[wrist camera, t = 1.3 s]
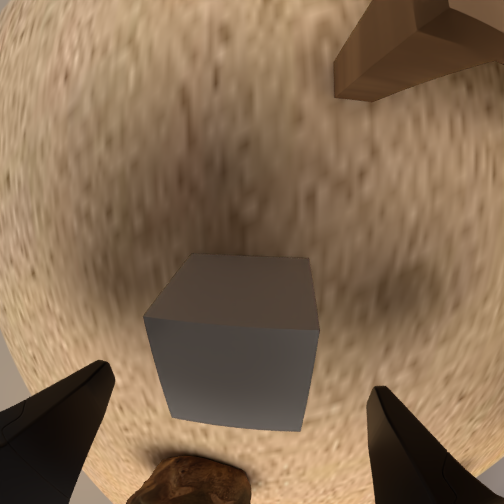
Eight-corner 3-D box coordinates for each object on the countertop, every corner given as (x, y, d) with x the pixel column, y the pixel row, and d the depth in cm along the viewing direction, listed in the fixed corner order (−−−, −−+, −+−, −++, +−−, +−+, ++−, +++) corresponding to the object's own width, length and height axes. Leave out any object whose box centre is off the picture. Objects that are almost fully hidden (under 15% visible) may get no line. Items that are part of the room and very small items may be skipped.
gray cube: (309, 257, 12) (319, 330, 7) (299, 349, 14) (300, 431, 9) (192, 252, 13) (143, 316, 8) (201, 342, 14) (172, 417, 10)
